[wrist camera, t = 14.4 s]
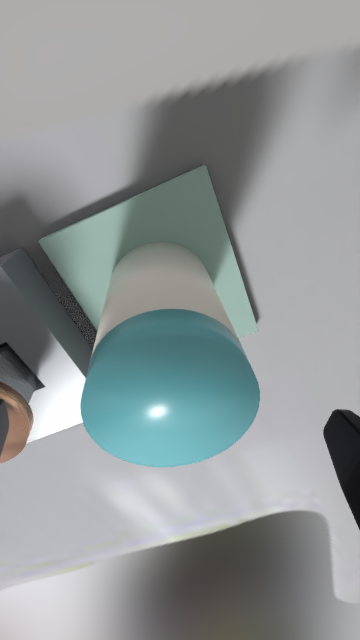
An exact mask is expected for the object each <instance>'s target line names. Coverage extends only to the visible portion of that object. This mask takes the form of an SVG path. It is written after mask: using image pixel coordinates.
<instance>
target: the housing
mask: <svg viewBox="0 0 360 640" xmlns="http://www.w3.org/2000/svg"><path fill="white" fill-rule="evenodd" d="M5 342H7V343H8V344H9V345H10V346H11V348H12V349H13V350H14V351H15V352H16V353H17V355H18V356H19V357H20V358H21V359H22V360H23V361H24V363H25V364H26V365H27V366H28V367H29V368H30V369H31V371H32V372H33V373H34V374H35V375H36V376H37V377H38V379H39V381H38V383H37V386H36V388H35V390H34V393H33V395H32V397H31V400H30V402H29V405H30V407H31V409H32V412H33V419H34V421H33V426H32V429H31V432H30V434H29V437H28V439H27V442H26V443H28V442H31V441H34V440H36V439H39V438H42V437H44V436H47V435H50V434H52V433H55V432H58V431H60V430H63V429H66V428H69V427H71V426H74V425H77V424H79V423H82V422H83V421H82V417H81V410H80V403H81V396H82V392H83V388H84V384H85V380H86V376H87V372H88V368H89V364H90V360H91V356H92V352H93V348H92V347H91V346H90V344H89V343H88V341H87V340H86V338H85V337H84V335H83V334H82V333H81V331H80V330H79V328H78V327H77V325H76V324H75V323H74V321H73V320H72V318H71V317H70V315H69V314H68V312H67V311H66V310H65V308H64V307H63V305H62V304H61V302H60V301H59V299H58V298H57V297H56V295H55V294H54V292H53V291H52V289H51V288H50V287H49V285H48V284H47V282H46V281H45V279H44V278H43V276H42V275H41V274H40V272H39V271H38V269H37V268H36V266H35V265H34V264H33V262H32V261H31V259H30V258H29V256H28V255H27V253H26V252H25V251H24V249H23V248H22V247H21V248H18V249H16V250H14V251H12V252H9V253H7V254H5V255H3V256H1V257H0V344H2V343H5Z"/></svg>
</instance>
